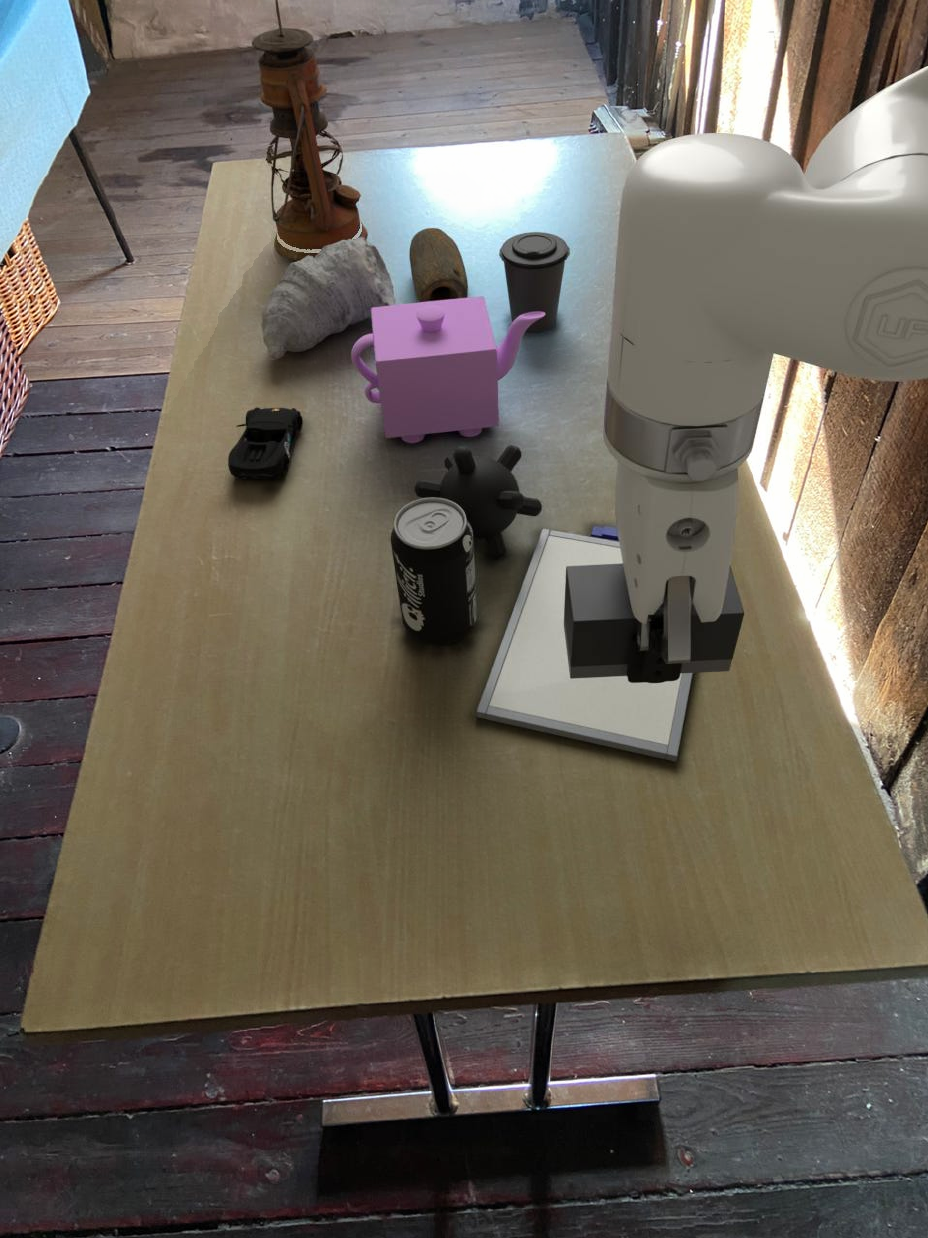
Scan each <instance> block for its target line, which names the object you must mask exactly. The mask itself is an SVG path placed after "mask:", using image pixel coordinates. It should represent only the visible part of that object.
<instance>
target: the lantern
mask: <svg viewBox="0 0 928 1238" xmlns="http://www.w3.org/2000/svg"><path fill="white" fill-rule="evenodd" d="M274 3H275V11H276V17H277V22H278V28H276V29H273V30H268V31H264V32H263V33H260V34H258V35H256V36H255V37H253V39H252V41H251V46H253V48H254V49H255V50H257V51H260V52H263V54H261V56H260V57H259V58H258V67H259V71H260V72H259V73H260V77H259V79H260V80H259V81H260V84H261V88H262V92H261V93H260V101H261V103H262V104H264V105H265V106H266V107H270V108H271V111H272V115H273V119H272V120H270V123H269V132H270V133H271V134H272V136H274V138H273V139H272V141H271V142H270V143H269V145H268V147H267V150H266V158H265V162H267V164H268V165H269V166H270V169H271V181H270V195H271V196H270V201H271V213H272V220H273V221H274V222H275V225H276V226H275V227H276V230H277V232H276V234H275V237H274V248H275V250H276V251H277V252H278V253H279V254H280V256H283V257H285V258H287V259H290V260H294V261H295V262H297V261H300V260H302V259H303V258H305V257H306V256H308V255H309V256H313V258H315V256H316V255H317V254H318V253H304V252H296V251H293V250H289V249H287V248H285V247H283V246H282V245H281V244H280V243H279V242H278V240H277V233H278V235H279V237H280V239H282V240H283V241H284V242H285V243H286V244H288V245H290V246H292V247H296V248H299V249H306V250H307V249H310V250H312V249H322V248H323V247H324V246H327V245H330V244H334V243H337V242H339V241H341V240H348V239H352V238H353V237H354V236H355V235H356V234H357V233H358V231H359V229H360V222H361V219H360V213H359V208H358V206H357V203H358V202H359V201H360V199H361V197H362V195H361V193H360V192H359V191H358V190H357V189H356V188H355V187H353V186H351V185H347V184H343V182H342V179H341V177H340V176H339V175H340V172H341V170H342V166H343V161H344V152H343V149H342V146H341V144H340V142H339V141H338V139H336V138H335V137H334V136H333V135H332V134H331V133H329V132H328V131H326V130H327V128H328V127H329V122H328V119H327V117H326V115H325V114H324V112H322V111H320V108H319V101H320V100H322V99H323V98H324V97H325V96H326V93H327V91H328V89H327V87H326V85H325V84H323V83H322V77H321V71H320V68H319V66H318V63H317V58H316V54H315V51H314V50H313V49H312V48H311V47H310V48H309V47H308V46H309V45H311V44H312V43H313V41H314V35H312V34H311V33H310V32H309V31H307V30H305V29H300V28H292V27H291V28H290V27H283V26H282V21H281V14H280V7H279V1H278V0H275V2H274ZM318 135H319V136H321V137H323V138H328V139H330V140H329V141H330V143H332V144H333V145H331V144H330V145H326V144H324V145H323V144H321V145H318V140H317V136H318ZM280 138H282V139H289V143H290V147H291V148H290V149H291V150H285V151H282V152H280V153H278V147H279V146H278V145H279V140H280ZM273 147H274V149H273ZM328 151H331V152H333V151H334V152H333V154H332V156H331V158H330V159H328V160H326V161H324V162H322V161H321V156H320V153H321V152H328ZM340 153H341V158H340V160H339V165H338V169H337V172H336V173H334V172H332V171H328V170H325V169H324V168H325V167H327V166H328V165H329V164H331V163H332V162H333V161H334V160H336V159H337V158H338V157H339V155H340ZM287 157H290V169H289V171H287V170H284V169H282V168H277V167H276V165H277V160H280V159H286V158H287ZM280 172H285V173H289V175H288V177H286V178H285V179H283V177H282V174H281V173H280ZM275 175H277V177H280V181H281V183H282V184H281V189H282V192H283V193H284V194H285V199H284V203H283V205H282V206H281V207H280V208H279V209H278V210H277V211H276V210H275V206H274V205H275V202H274V183H275ZM289 197H290V198H291V199H289ZM361 224H362V232H361V234H360V236H359V237H364V238H365V240H366V241H367V239H368V236H369V235H368V234H369V233H368V230H367V229H366V227H365V226H364V224H363V223H362V222H361ZM359 237H358V238H359Z"/></svg>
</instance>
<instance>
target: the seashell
mask: <svg viewBox="0 0 928 1238" xmlns="http://www.w3.org/2000/svg"><path fill="white" fill-rule="evenodd" d="M391 305H397V303H396V298H395V290H394V285H393V283H392V279H391V275H390V273H389V271H388V269H387V266H386V263H385V261H384V258H383V257H382V256H381V254H380V252H379V250H378V248H377V246H375V245H373V244H372V243H368V242H367V239H366V240H365V238H364V237H359V238H356V239H353V240H352V239H348V240H341V241H339V242H337V243H334V244H330V245H327V246H324V247H323V248H322V249H321V251H320V252H319V253H318V254H317V255H316V256H315V258H313V256H309V255H308V256H306V257H305V258H303V259H302V260H300V261H293V262H291V263H290V264H289V266H287V267H286V269H285V272H284V274H283V276H282V277H281V278H280V279H279V281H278V285H277V286H276V287H275V288H274V289H273V290H272V291H271V292H270V294H269V296H268V300H267V302H266V305H265V307H264V309H262V319H261V331H262V339H263V343H264V345H265V346H266V348H267V352H268V354H269V358H270V360H273V361H274V360H278V359H282V358H283V357H284V356H285V353H286V352H293V353H301V352H302V353H303V352H305V351H307V350H310V349H313V348H314V347H315V346H317V344H319V343H321V342H322V341H323V340H325V338H327V337H328V336H330V335H333V334H339V333H341V332H343V331H344V330H345V329H346V328H347V327H348V326H349V325H355V324H358V323H360V322H362V321H364V320H365V319H367V318H372V316H371V308H373V307H382V306H391Z"/></svg>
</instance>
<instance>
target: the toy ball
mask: <svg viewBox="0 0 928 1238" xmlns="http://www.w3.org/2000/svg"><path fill="white" fill-rule="evenodd" d="M522 457H523V454H522V450H521V448H520V447H519V446H518V445H513V444H510V445H507V446H506V447H505V448H504V451H502V452H501V454H500V456H499V457H498V458H497V460H496V459H493V458H490V457H487V456H477V455H476V456H473V453H472V451H471V450H470V448H469V447H468V446H463V445H461V446H459V447H456V448H455V450H454V451H453V453H450V454H447V455H446V456H445V458H444V460H443V463H444V467H445V469H446V472H445V473H444V475H443V476H442V478H441V480H440V481H436V480H435V481H434V480H429V479H423V478H422V479H419V480H417V481H416V483H415V484H414V495H416V497H418V498H419V499H423V498H432V497H434V498H443V499H447V500H450V501H452V502H454V503H456V504H457V505H459V506H460V507H461V508H462V509H463V511H464V513H465V515H466V519H467V521H468V522H469V524H470V525H471V528H472V531H473V540H484V542H485V545H486V548H487V552H488V555H489V557H490V558H491V559H493V560H500V559H503V558H504V557H505V556H506V555H507V547H506V543H505V541H504V538H503V535H502V533H504V531H505V530H506V529H508V528H509V527H510V526H511V525H512V524H513V522H514V520H515V519H516V517H517V515H522V516H527V517H528V516H529V517H533V518H534V517H538V515H540V514H541V512H542V510H543V505H542V501H540V499H538V498H534V497H527V496H524V495H523V494H522V493H521V491H520V487H519V484H518V480H517V479H516V477H515V475H514V474H513V473H512V471H513V469H514V468H515V467H516V465H518V463H519V462H520V460H521V459H522Z"/></svg>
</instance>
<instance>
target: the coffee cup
mask: <svg viewBox="0 0 928 1238" xmlns="http://www.w3.org/2000/svg"><path fill="white" fill-rule="evenodd" d="M570 252H571V251H570V247H569V245H568V243H567V242H566V241H565V240H564V239H563V238H562V237H560V236H558V235H555V234H553V233H549V232H543V231H542V232H541V231H532V232H523V233H519V234H515V235H513V236H511V237H510V238H508V239H506V240H505V241H504V242H503V243H502V245H501V247H500V248H499V253H498V256H499V257H500V259H501V261H502V262H503V266H504V267H503V268H504V275H505V279H506V280H505V281H506V289H507V296H508V303H509V304H508V305H509V312H510V318H511V324H512V323H513V321H514V320H515V319H516V318H517V317H519V316H520V315H522V314H525V313H528V312H535V311H541V312H545V316H544V317H542V318H540V319H538V320H537V321H535V322H534V323H532V324H531V325H530V326H529V327H528V328H527V330H526V331H525V333H528V334H539V333H545V332H546V331H549V330H551V329H552V328H553V327H554V326H555V325H556V323H557V316H558V309H559V303H560V297H561V291H562V284H563V277H564V271H565V264H566V261H567V259H568V258H569V257H570V255H571V253H570Z"/></svg>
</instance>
